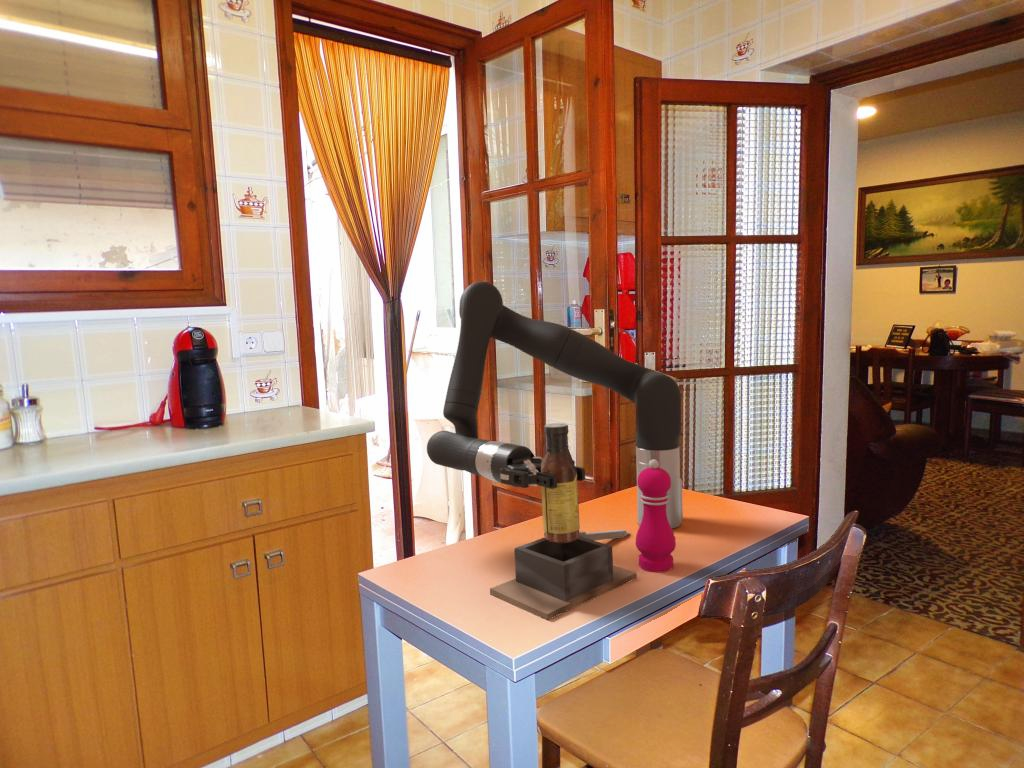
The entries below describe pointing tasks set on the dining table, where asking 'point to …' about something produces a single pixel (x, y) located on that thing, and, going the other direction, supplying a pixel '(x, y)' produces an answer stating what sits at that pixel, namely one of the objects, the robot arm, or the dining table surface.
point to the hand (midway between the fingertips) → (569, 478)
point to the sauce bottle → (560, 488)
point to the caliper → (604, 534)
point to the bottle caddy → (561, 576)
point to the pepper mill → (655, 520)
